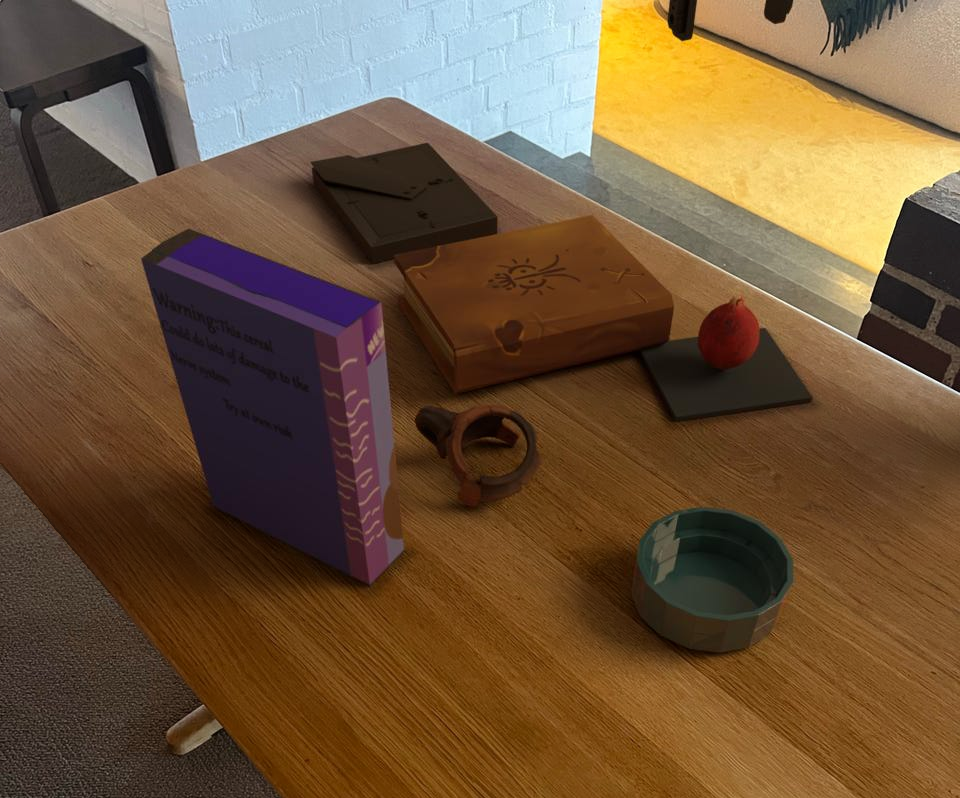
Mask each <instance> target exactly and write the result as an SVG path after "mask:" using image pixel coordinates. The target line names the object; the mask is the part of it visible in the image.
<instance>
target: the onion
mask: <svg viewBox="0 0 960 798" xmlns="http://www.w3.org/2000/svg"><path fill="white" fill-rule="evenodd" d="M745 301H746V300H745V298H744V297H743V296H742V295H741V294H737V295H733V297H732V298H730V300H729V301H728V302H726V303H722V304H720V305H718V306H715V307H714V308H713V309H712V310H710V312H709V313H708V314H707V315H706V316H705V317H704V319H703V320H702V322H701V324H700V327H699V330H698V335H697V337H698V347H699V350H700V352H701V354H702V356H703V358H704V359H705V360H706V362H708V363H709V364H710V365H711V366H713V367H715V368H717V369H720V370H726V369H730V368H735V367H737V366H739V365H741V364H742V363H744V362H746V361H747V360H748V359H749V358H750V357H751V356H752V355H753V353H754V352H755V350H756V348H757V346H758V343H759V330H760V323H759V321H758V318H757V316H755V314H754V313H753V312H752V310H751V309H750V308H749V307H748V306H746V305H744V303H745Z"/></svg>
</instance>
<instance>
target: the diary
mask: <svg viewBox="0 0 960 798" xmlns="http://www.w3.org/2000/svg"><path fill="white" fill-rule="evenodd" d="M393 262H394V263H393V264H394V265H395V266H396V268H397V269H398V271H399V272H400V274H401V276H402V277H403V287H404V288H403V289H404V294H400V295H397V296H396V298H397V299H396V301H397V305H398V306H399V308H400V310H401V311H402V313H403V314H404V316H405V318H406V319H407V320H408V322H409V324H410V325H411V327H412V328H413V330H414V331H415V333H416V334H417V336H418V338H419V339H420V341H421V342H422V344H423V346H424V347H425V349H426V350H427V352H428V354H429V355H430V356H431V359H433V361H434V363H435V364H436V366H437V368H438V369H439V371H440V372H441V374H442V375H443V377H444V379H445V381H446V382H447V383H448V385H449V386H450V388H451V390H452V391H453V393H454V394H455V395H456V394H460V393H464V392H465V393H466V392H468V391H473V390H478V389H481V388H485V387H491V386H494V385H498V384H502V383H507V382H511V381H514V380H519V379H523V378H527V377H532V376H536V375H539V374H544V373H548V372H553V371H556V370H559V369H564V368H565V369H566V368H568V367H573V366H577V365H582V364H586V363H590V362H594V361H598V360H603V359H607V358H611V357H614V356H619V355H623V354H628V353H631V352H632V353H633V352H636V351H638V350H640V349H645V348H649V347H653V346H657V345H661V344H665V343H666V342H667V341H670V338H671V329H672V324H673V318H674V317H673V316H674V311H675V305H674V304H675V303H674V300H673V295H672V293H671V292H670V291H669V290H668V289H667V288H666V287H665V286H664V284H662V283H661V282H660V281H659V280H658V279H657V278H656V277H655V276H654V275H653V273H651V272H650V271H649V270H648V268H647V267H645V266H644V264H642V262H640V261H639V260H638V259H637V258H636V256H634V255H633V254H632V253H631V251H629V250H628V249H627V247H625V245H623V243H622V242H621V241H620V240H619V239H617V237H615V235H613V233H611V231H610V230H608V228H606V226H605V225H603V223H601V221H600V220H599V219H598V218H597V217H596V216H595V215H594V214H590V215H585V216H580V217H575V218H570V219H565V220H561V221H555V222H550V223H546V224H540V225H535V226H530V227H525V228H521V229H520V228H519V229H515V230H511V231H505V232H500V233H496V234H492V235H488V236H484V237H480V238H476V239H471V240H466V241H461V242H456V243H451V244H446V245H441V246H436V247H431V248H426V249H421V250H416V251H411V252H406V253H401V254H396V255H394V259H393Z"/></svg>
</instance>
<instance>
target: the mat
mask: <svg viewBox="0 0 960 798" xmlns="http://www.w3.org/2000/svg"><path fill="white" fill-rule="evenodd" d="M759 329H760V330H759V343H758V346H757V348H756V350H755V352H754V353H753V355H752V356H751V357H750V358H749V359H748V360H747V361H746V362H744V363H742V364H741V365H739V366H737V367H735V368H730V369H726V370H720V369H717V368H715V367H713V366H711V365H710V364H709V363H708V362H706V360H705V359H704V358H703V356H702V354H701V352H700V350H699V347H698V336H694V337H686V338H678V339H673V340H672V339H669V341H667V342H666V343H665V344H661V345H657V346H653V347H649V348H645V349H640V350H637V351H638V355H639V357H640V358H641V360H642V362H643V363H644V365H645V367H646V370H647V371H648V373H649V375H650V377H651V379H652V382H654V385H655V386H656V388H657V390H658V392H659V394H660V396H661V398H662V400H663V402H664V403H665V405H666V408H667V409H668V411H669V413H670V415H671V417H672V418H673V420H674V422H682V421H689V420H695V419H704V418H709V417H710V418H711V417H717V416H724V415H730V414H738V413H743V412H750V411H751V412H752V411H758V410H765V409H772V408H780V407H787V406H793V405H800V404H807V403H812V401H813V399H814V398H813V395H812V394H811V393H810V391H809V390H808V388H807V387H806V385H805V383H803V381H802V379H801V378H800V377H799V374H798V373H797V372H796V370H795V369H794V368H793V366H792V365H791V363H790V362H789V360H788V359H787V357H786V355H785V354H784V352H783V351H782V350H781V348H780V347H779V345H778V343H776V341H775V340H774V338H773V337H772V334H770V332H769V331H768V329H767V328H766V327H762V328H760V327H759Z"/></svg>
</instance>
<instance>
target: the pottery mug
mask: <svg viewBox="0 0 960 798" xmlns="http://www.w3.org/2000/svg"><path fill="white" fill-rule="evenodd" d="M504 419H506V420H509V421H511V422H512V423H514V424H515V425H516V426H517V427H518V428H519V429H520V431H521V432H522V434H523V436H524V438H525V442H526V451H525V456H524V458H523V460H522V462H521V463H520V464H519V465H518V466H517V467H516V468H515V469H514V470H512V471H510V472H508V473H506V474H503V475H496V476H495V475H485V474H482V473H480V474H479V480H478V479H477V478H475V477H473V476H472V475H471V474H470V472H469V471H470V465H469V464H468V462H467V461H466V459H465V458H464V457H465V456H464V455H463V453H462V452H463V451H462V449H463V448H464V447H466V446H467V445H468V444H470V443H471V442H474V441H477V440H481V439H485V438H491V439H494V438H495V439H496V440H500V441H502V442H504V443H506V444H508V445H510V446H511V447H516V446H517V443H518V441H519V439H520V438H521V433H520V432H519V431H518V430H517V429H515V428H513V427H511V426H510V424H507V423H506V422H504V421H503V420H504ZM414 424H415V427H416V429H417V430H418V432H419V433H420V434H421V435H422V436H423V437H424V438H425V439H426V440H427V441H428V442H430V443H431V444H432V445H433V446H434V447H435V448H436V451H437V452H438V456H439V459H441V460H442V461H443V460H446V459H447V461H448V463H449V465H450V469H451V471H452V473H453V475H454V476H455V478H456V479H457V481H458V483H460V484H461V487H460V490H459V491H458V492H457V499H458V501H460V502H461V503H463V504H464V505H467V506H469V507H471V508H472V507H475V506H478V505H479V503H480V504H482V505H486V504H490V503H494V502H498V501H502V500H504V499H507V498H509V497H512V496H514V495H515V494H518V493H520V492H521V491H523V487H522V486H523V485H529V483H530V482H531V480H532V479H533V477H534V475H535V474H536V471H537V470H538V469H539V467H540V466H541V465H542V464H543V461H544V460H543V458H542V455H541V453H540V451H539V449H537V442H538V438H539V437H538V431H537V430H536V428H535V427H534V426H533V425H532V423H531V422H529V420H527V419H526V418H525V417H524V416H523V415H522V414H520V413H519V412H517V411H516V410H513V409H512V408H509V407H505V406H503V405H497V404H481V405H476V406H472V407H470V408H468V409H466V410H463V411H460V412H454V411H451V410H449V409H446V408H443V407H441V406H433V405H425V406H423V407H421V408H420V409H418V412H417V414H416V415H415V417H414Z"/></svg>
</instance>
